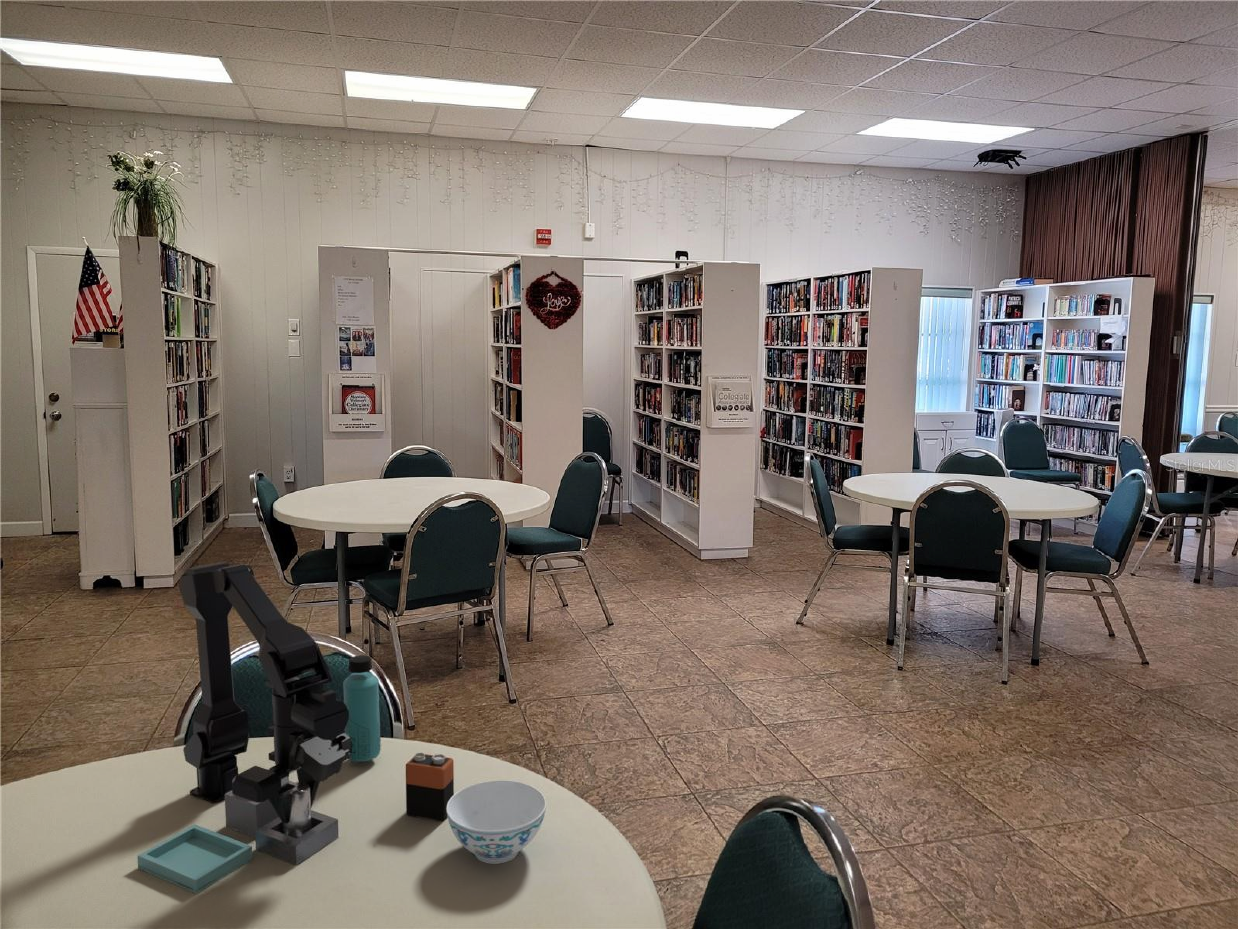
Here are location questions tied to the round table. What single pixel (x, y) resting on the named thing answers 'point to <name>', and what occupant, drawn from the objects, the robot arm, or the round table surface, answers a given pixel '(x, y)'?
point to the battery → (429, 785)
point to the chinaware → (496, 818)
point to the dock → (248, 813)
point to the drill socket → (294, 849)
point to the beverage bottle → (362, 709)
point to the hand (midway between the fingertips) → (296, 816)
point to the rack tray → (195, 858)
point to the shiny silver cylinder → (299, 811)
